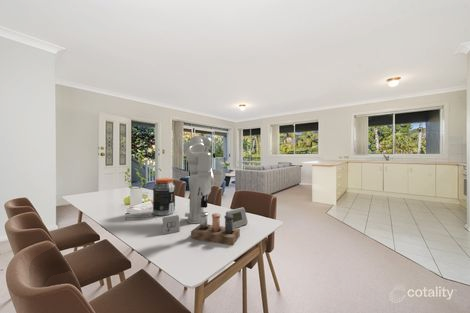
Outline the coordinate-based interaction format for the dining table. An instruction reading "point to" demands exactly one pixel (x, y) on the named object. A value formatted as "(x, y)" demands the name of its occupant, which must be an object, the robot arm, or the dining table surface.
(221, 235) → the walnut block
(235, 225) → the digital clock
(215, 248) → the dining table surface
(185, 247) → the dining table surface
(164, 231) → the electrical switch
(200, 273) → the dining table surface
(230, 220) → the charcoal peg
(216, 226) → the terracotta peg
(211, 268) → the dining table surface
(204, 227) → the grey peg
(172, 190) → the supplement tub
